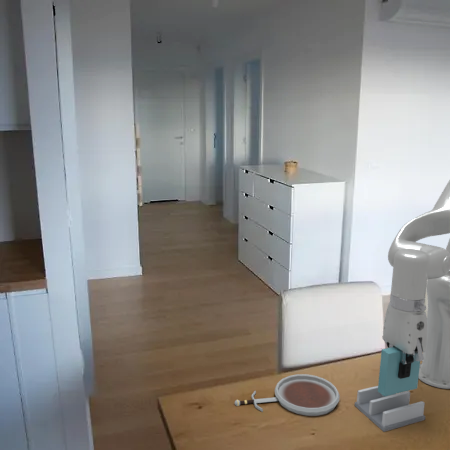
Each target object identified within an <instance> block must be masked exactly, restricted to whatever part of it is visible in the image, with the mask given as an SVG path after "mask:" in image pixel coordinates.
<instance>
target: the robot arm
mask: <svg viewBox="0 0 450 450" xmlns="http://www.w3.org/2000/svg"><path fill="white" fill-rule="evenodd" d="M447 234H450V179H449V180H448V182H447V183H446V185H445V187H444V188H443V190H442V192H441V194H440V196H439V197H438V199H437V200H436V202H435V204H434V205H433V208H432V209H431V210H430V211H427V212H424V213H422V214H420V215H418V216H416V217H415V218H413V219H411V220H408V222H406V223H405V224H404V225H402V227H401V228H400V229H399V230H398V232H397V234H396V235H395V237H394V238H393V240H392V242H391V245H390V247H389V249H388V253H387V260H388V263H389V265H390V267H392V277H391V288H390V289H391V290H390V297H389V298H390V299H389V303H388V304H387V308H386V310H385V316H384V319H383V328H382V329H383V331H382V337H381V338H382V340H383V341H384V343H385V344H386V348H391V347H397V348H398V349H400V350H402V360H401V362H400V363H399V372H398V378H400V379H402V378H406V377H409V376H410V371H411V363H413V362H414V361H420V362H421V363H420V368H419V377H418V380H420V381H421V382H423V383H425V384H427V385H429V386H432V387H435V388H438V389H447V390H449V389H450V238H449V239H448V242H447V245H446V248H444V247H440V246H437V245H432V244H431V245H430V244H425V243H421V242H418V241H420V240H422V239H425V238H430V237H436V236H443V235H447ZM426 296H427V297H426ZM426 299H427V300H426ZM426 301H427V306H426V305H425V302H426ZM426 309H427V311H426ZM407 354H409V356H408V357H407Z"/></svg>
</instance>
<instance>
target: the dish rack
mask: <svg viewBox="0 0 450 450" xmlns="http://www.w3.org/2000/svg"><path fill="white" fill-rule="evenodd" d="M356 395H357V396H356V401H355V402H354V407H355V408H356V409H358V410H359V411H360V412H361V413H362V414H363V415H365V416H366V418H367V419H369V420H370V421H371V422H372V423H374V425H376V426H377V428H379V429H380V430H381V431H382V432H383V433H384V432H388V431H391V430H395V429H398V428H401V427H405V426H408V425H411V424H416V423H418V422H422V421H425V420H426V415H424V411H425V403H426V402H424V401H422V400H421V401H418V402H414V403H411V404H410V399H411V392H410V390H409V391H405V392H401V393H397V394H393V395H389V396H385V397H384V396H383V395H382V394H381V393H379V392H378V385H375V386H372V387H371V386H370V387H367V388H363V389H362V388H361V389H359V390H357V394H356Z"/></svg>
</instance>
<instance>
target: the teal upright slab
mask: <svg viewBox="0 0 450 450" xmlns="http://www.w3.org/2000/svg"><path fill="white" fill-rule="evenodd" d="M408 356H409V354H407V357H408ZM401 360H402V350H400V349H398V348H397V347H391V348H388V347H386V348H381V353H380V362H379V363H380V364H379V373H378V375H379V376H378V384H377V386H378V392H379V393H381V394H382V395H383V396H384V397H385V396H389V395H393V394H398V393H402V392H406V391H409V392H410V391H412V390H417V389H418V386H419V385H418V384H419V378H418V377H419V368H420V364H421V361H414V362H413V363H411V371H410V376H409V377H406V378H402V379H400V378H398V372H399V363H400V362H401Z"/></svg>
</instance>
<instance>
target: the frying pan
mask: <svg viewBox="0 0 450 450" xmlns="http://www.w3.org/2000/svg"><path fill="white" fill-rule="evenodd" d="M256 393H257V391H256V390H254V391H253V393H252V394H251V399H245V400H239V399H236V400H235V401H234V405H235V406H236V407H239V406H240V405H247V404H248V405H249V404H253V405H254V408H255V409H257V410H258V411H261V412H262V413H264V412H263V411H264V408H262V407H260V406H259V405H258V404H261V403H271V402H278V403H279V404H280V405H281V406H282V407H283V408H284V409H286V410H287V411H290V412H292V413H295V414H297V415H301V416H307V417H308V416H309V417H316V416H317V417H318V416H323V415H326V414H329V413H330V412H332V411H333V410H334V409H335V407H336V406H337V405H338V403H339V402H340V397H341V396H340V395H341V394H340V393H339V390H338V389H337V387H336V386H335V385H334V384H333V383H332V382H331V381H329V380H327V379H325V378H324V377H321V376H317V375H314V374H308V373H304V374H303V373H300V374H297V373H296V374H293V375H288V376H286V377H283V378H282V379H280V380H279V381H278V382H277V383H276V385H275V388H274V395H275V397H265V398H255V395H256Z"/></svg>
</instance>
